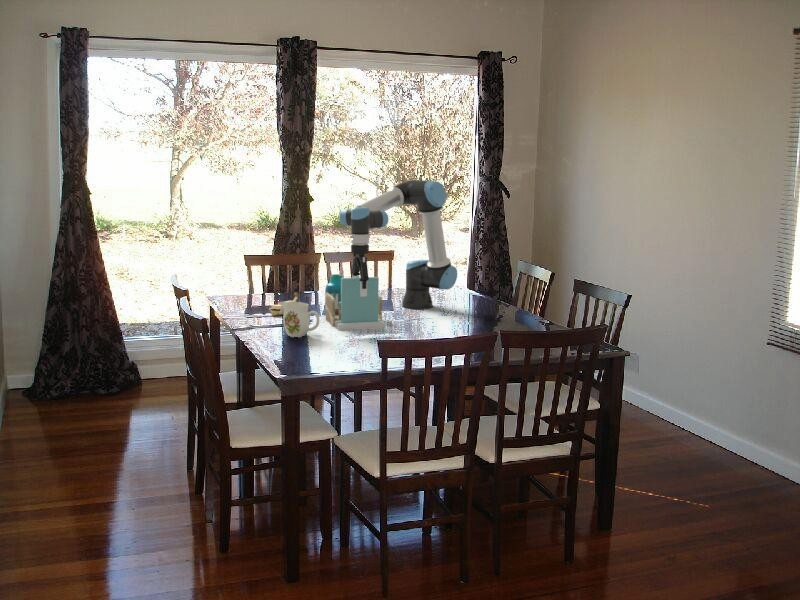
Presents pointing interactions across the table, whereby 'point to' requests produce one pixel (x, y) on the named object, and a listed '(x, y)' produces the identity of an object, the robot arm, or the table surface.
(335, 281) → the vase
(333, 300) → the rack
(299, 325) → the white floral mug
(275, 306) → the cat figure
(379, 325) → the stand
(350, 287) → the teal rectangular panel
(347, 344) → the table surface
